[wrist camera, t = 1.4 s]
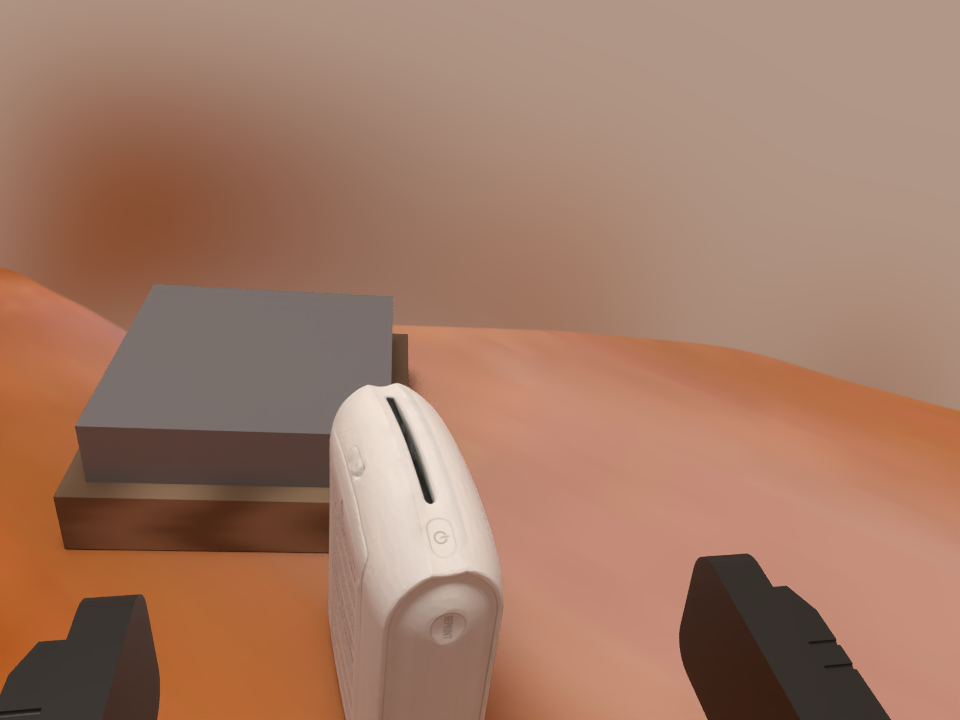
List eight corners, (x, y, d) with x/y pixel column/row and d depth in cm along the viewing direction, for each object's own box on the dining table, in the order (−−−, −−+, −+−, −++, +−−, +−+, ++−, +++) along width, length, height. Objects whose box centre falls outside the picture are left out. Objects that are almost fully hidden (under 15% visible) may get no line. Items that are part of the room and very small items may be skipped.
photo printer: (486, 809, 29) (534, 547, 22) (362, 840, 27) (376, 571, 21) (417, 587, 37) (437, 348, 30) (319, 603, 36) (319, 357, 29)
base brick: (64, 548, 37) (53, 496, 35) (151, 366, 49) (145, 322, 48) (406, 553, 38) (409, 504, 37) (405, 376, 51) (407, 334, 50)
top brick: (86, 482, 36) (75, 426, 35) (159, 331, 47) (154, 284, 46) (387, 489, 38) (390, 435, 36) (390, 342, 49) (393, 296, 47)
